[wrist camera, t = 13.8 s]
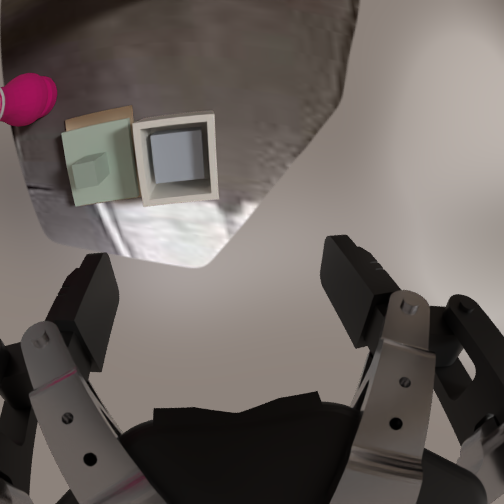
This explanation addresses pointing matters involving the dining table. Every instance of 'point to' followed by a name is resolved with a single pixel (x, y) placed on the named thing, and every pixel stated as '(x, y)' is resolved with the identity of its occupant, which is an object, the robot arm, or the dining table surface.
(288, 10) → the dining table surface
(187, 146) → the storage box
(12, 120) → the pepper mill
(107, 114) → the cork mat
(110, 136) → the lid
